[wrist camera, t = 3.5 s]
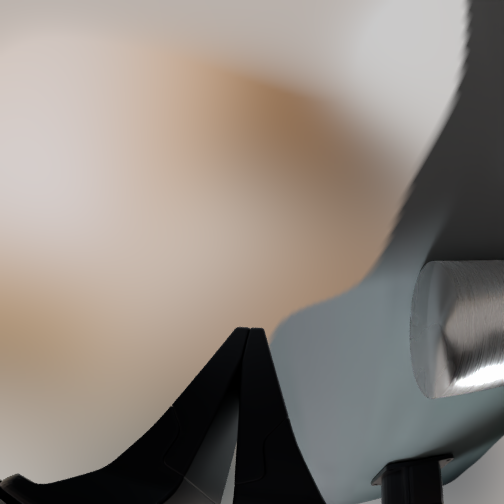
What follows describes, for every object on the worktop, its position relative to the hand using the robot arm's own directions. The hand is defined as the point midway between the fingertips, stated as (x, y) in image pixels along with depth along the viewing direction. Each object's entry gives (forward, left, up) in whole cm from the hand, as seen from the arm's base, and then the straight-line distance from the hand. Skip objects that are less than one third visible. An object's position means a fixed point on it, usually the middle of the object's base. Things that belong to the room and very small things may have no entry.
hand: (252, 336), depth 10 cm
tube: (0, -11, -1) cm, 11 cm away
